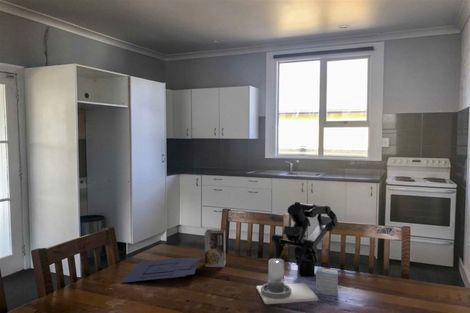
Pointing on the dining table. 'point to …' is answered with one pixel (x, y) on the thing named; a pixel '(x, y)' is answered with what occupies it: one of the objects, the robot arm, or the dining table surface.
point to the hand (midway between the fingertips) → (286, 262)
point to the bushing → (276, 277)
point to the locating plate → (295, 296)
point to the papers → (163, 269)
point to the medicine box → (327, 281)
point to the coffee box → (214, 248)
